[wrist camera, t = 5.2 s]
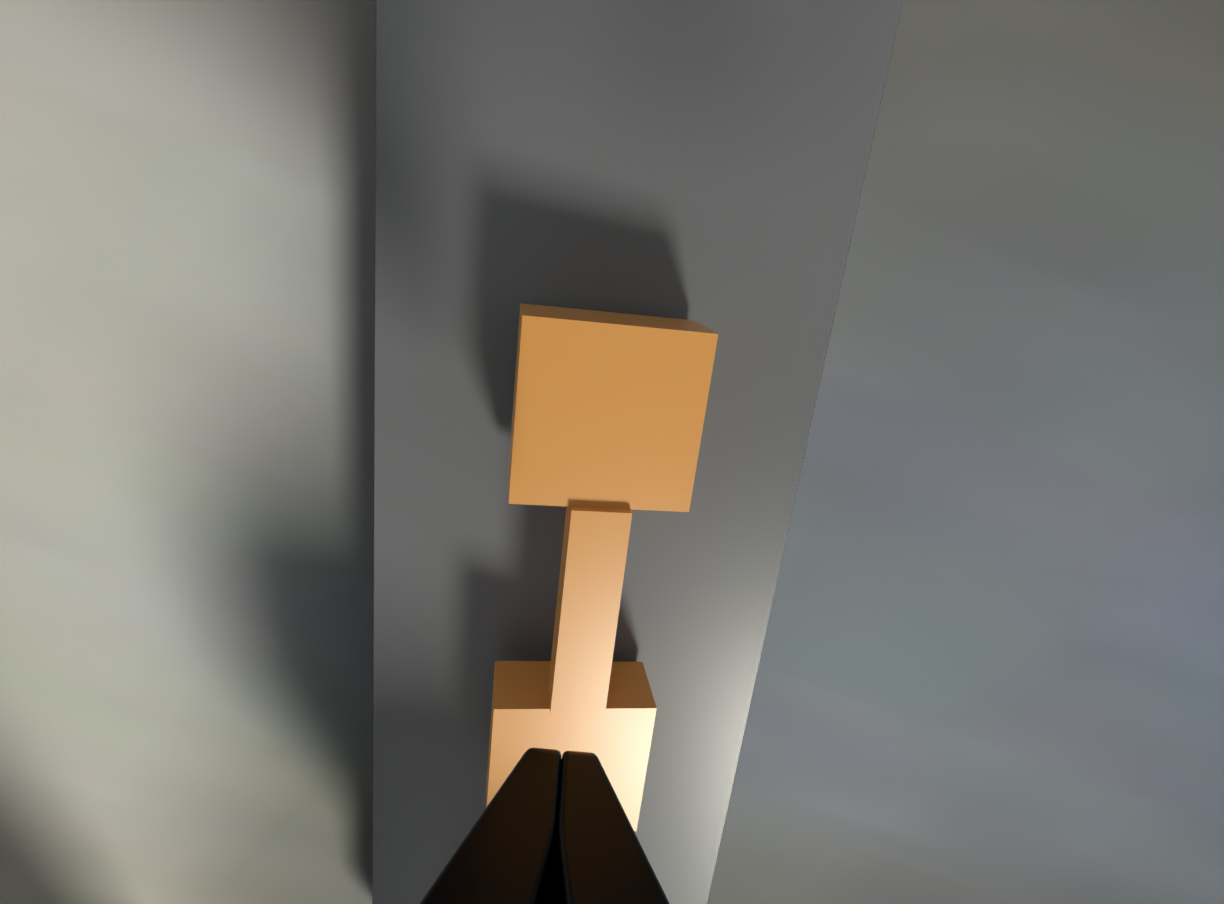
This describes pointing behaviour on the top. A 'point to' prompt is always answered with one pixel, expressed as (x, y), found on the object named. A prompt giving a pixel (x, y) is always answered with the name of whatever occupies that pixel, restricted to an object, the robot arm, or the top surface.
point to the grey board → (611, 282)
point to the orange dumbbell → (596, 520)
